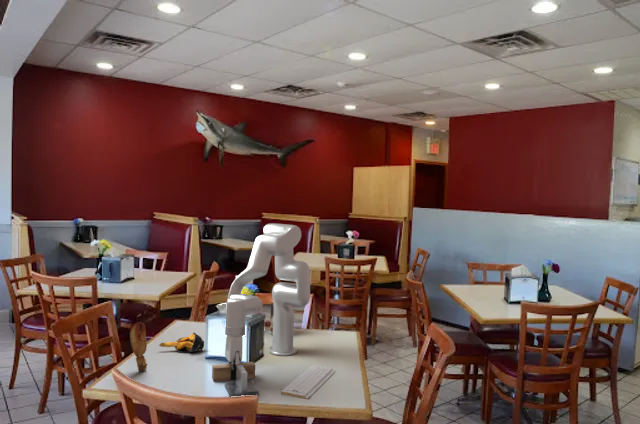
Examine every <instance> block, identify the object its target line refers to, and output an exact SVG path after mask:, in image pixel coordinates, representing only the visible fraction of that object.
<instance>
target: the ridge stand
mask: <svg viewBox="0 0 640 424" xmlns="http://www.w3.org/2000/svg"><path fill="white" fill-rule="evenodd" d="M247 374H248V373H247V372H246V370H245V369H244V367H243V366H242V365H237V368H236V380H234V381H229V382H228V381H227V382H224V388H225V390H226V392H227V394H228V396H229V397H230V396H241V395H254V396H259V393H260V392H259V389H258V388H257V387H256V385H255V383H254V382H253V380H252V379H248V378H247ZM256 394H257V395H256Z"/></svg>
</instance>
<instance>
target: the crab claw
mask: <svg viewBox="0 0 640 424" xmlns="http://www.w3.org/2000/svg"><path fill="white" fill-rule="evenodd" d="M146 335H147V331H146V325H145V324H144V323H143V322H141V321H139V322H138V321H137V322H136V323H134V324H133V325H132V326H131V329H130V330H129V340H130V341H129V342H130V347H131V348H132V351H133V354H134V355H135V362H136V367H137V370H138V372H144V371H147V368H148V367H147V366H148V363H147V359H146V358H145V356H144V355H145V353H146V351H147V348H148V344H147V342H148V341H147V337H146Z"/></svg>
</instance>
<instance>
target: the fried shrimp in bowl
mask: <svg viewBox="0 0 640 424" xmlns="http://www.w3.org/2000/svg"><path fill="white" fill-rule="evenodd" d="M159 347H162V348H172V347H173V348H175V350H176V351H177V352H178V353H182V354H184V353H189V354H190V353H196V352H198V351H202V350H203V349H204V347H205V341H204V340H203V338H202V337H201V336H200V335H199V334H197V333H196V332H193V333H191V334H190V335H189V336H184V337H180V338H178V339H177V340H176V341H169V342H168V341H166V342H160V343H159Z"/></svg>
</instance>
